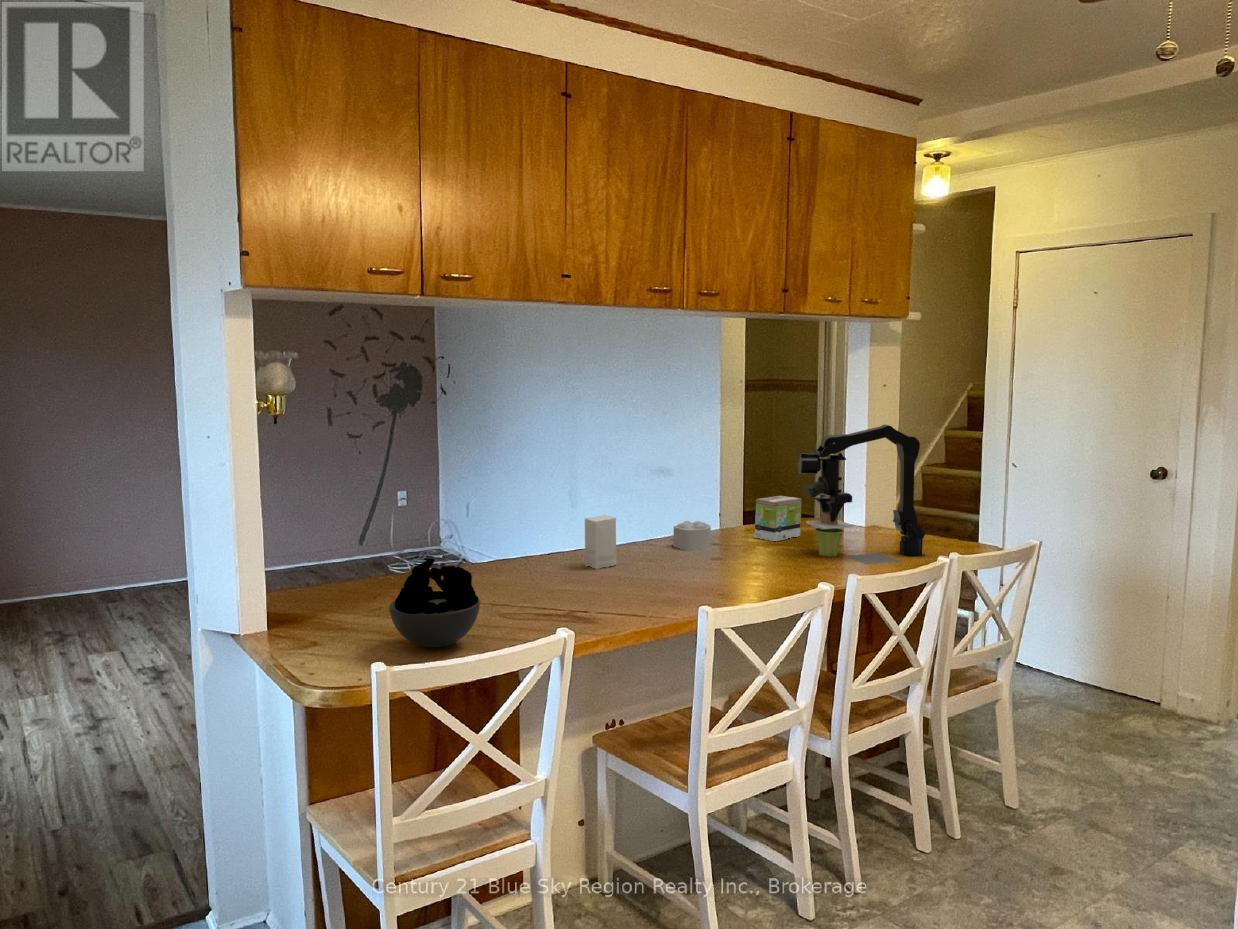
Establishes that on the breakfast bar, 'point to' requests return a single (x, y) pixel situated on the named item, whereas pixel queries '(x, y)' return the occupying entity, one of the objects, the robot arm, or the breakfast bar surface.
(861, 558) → the mat
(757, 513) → the tea box
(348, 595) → the breakfast bar surface
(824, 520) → the lid
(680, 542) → the lumpy-topped squat cylinder
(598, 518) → the skincare box
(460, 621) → the coal bowl
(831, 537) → the plant pot
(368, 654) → the breakfast bar surface
